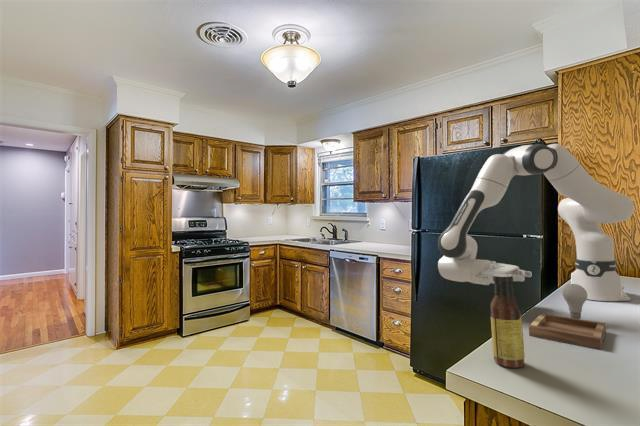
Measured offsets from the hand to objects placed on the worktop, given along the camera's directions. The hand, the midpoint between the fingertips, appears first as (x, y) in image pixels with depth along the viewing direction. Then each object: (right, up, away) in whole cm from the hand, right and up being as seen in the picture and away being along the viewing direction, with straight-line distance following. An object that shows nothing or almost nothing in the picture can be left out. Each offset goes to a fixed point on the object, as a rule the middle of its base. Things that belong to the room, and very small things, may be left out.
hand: (527, 276), depth 111 cm
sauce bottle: (-26, -13, -35) cm, 46 cm away
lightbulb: (+9, -12, -8) cm, 17 cm away
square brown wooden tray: (-1, -12, -19) cm, 23 cm away
